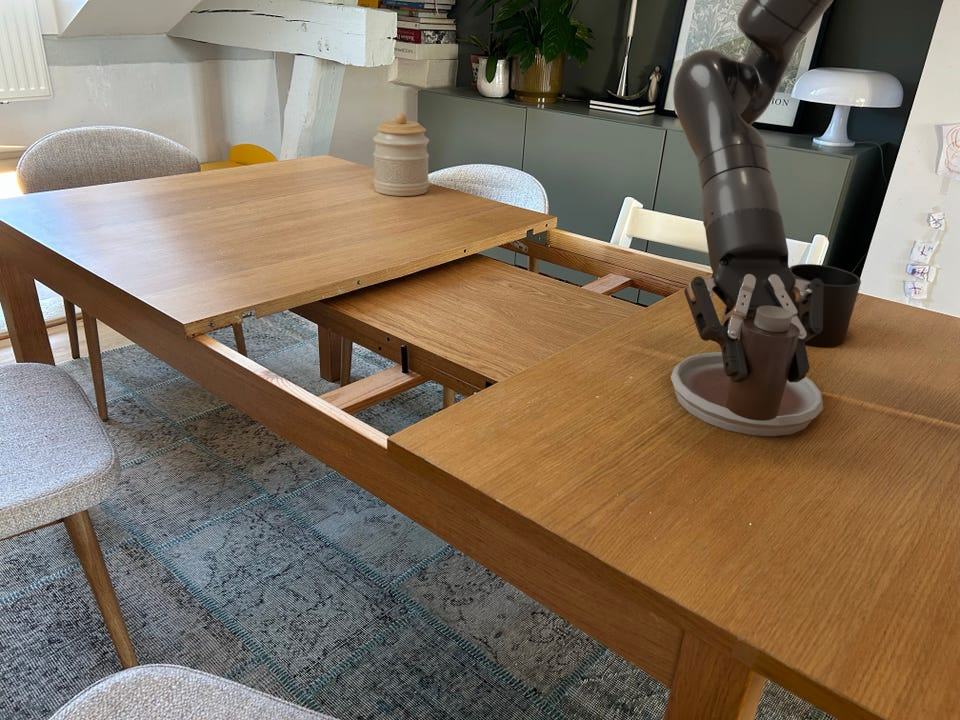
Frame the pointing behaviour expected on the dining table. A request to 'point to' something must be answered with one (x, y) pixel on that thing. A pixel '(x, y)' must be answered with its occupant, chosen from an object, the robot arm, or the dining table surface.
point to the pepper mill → (764, 364)
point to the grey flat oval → (705, 396)
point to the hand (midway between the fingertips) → (768, 379)
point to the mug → (830, 300)
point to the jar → (401, 158)
